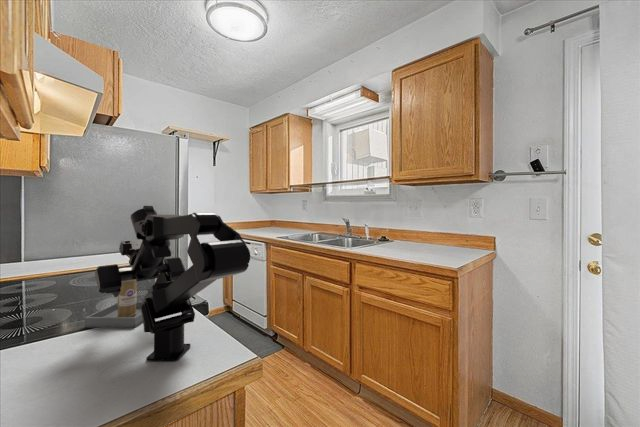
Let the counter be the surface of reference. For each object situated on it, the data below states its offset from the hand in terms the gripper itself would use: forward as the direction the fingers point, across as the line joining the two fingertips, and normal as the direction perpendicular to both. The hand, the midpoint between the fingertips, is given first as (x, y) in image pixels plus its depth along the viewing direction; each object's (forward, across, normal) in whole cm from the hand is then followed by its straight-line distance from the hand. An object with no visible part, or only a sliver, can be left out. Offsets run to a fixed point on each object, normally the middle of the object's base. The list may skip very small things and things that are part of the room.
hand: (136, 291), depth 75 cm
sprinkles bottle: (+12, 0, +1) cm, 12 cm away
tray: (+12, 0, +1) cm, 12 cm away
